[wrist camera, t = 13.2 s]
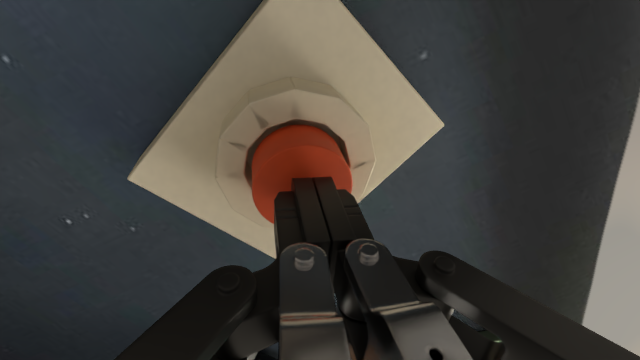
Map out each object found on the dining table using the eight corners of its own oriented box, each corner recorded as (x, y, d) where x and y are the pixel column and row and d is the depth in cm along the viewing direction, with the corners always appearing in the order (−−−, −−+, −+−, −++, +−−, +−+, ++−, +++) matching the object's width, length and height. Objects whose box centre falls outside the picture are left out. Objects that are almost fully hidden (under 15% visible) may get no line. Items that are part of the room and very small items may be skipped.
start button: (294, 104, 13) (301, 124, 11) (358, 160, 15) (372, 184, 13) (232, 172, 14) (230, 199, 12) (299, 215, 16) (305, 244, 14)
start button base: (295, -42, 13) (311, -48, 10) (426, 110, 18) (465, 140, 15) (139, 157, 17) (112, 202, 13) (285, 241, 22) (291, 290, 18)
